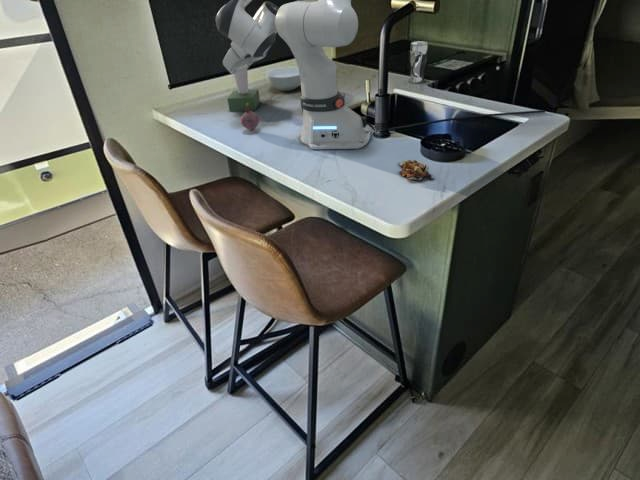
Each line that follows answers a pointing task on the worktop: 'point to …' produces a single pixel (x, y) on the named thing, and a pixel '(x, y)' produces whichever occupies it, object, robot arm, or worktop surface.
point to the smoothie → (241, 79)
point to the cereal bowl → (284, 78)
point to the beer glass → (418, 61)
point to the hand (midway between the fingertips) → (238, 69)
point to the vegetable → (249, 119)
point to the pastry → (414, 169)
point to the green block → (243, 100)
